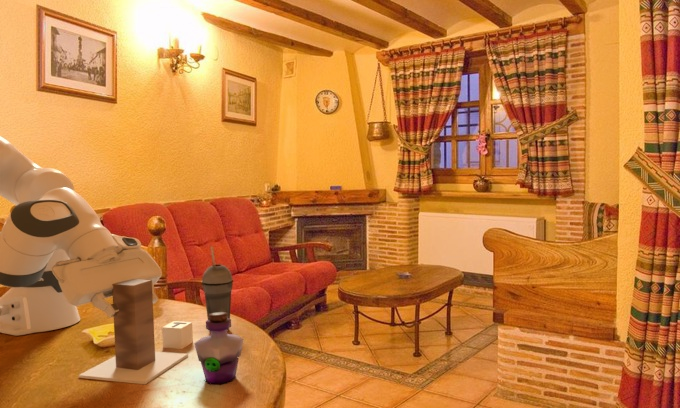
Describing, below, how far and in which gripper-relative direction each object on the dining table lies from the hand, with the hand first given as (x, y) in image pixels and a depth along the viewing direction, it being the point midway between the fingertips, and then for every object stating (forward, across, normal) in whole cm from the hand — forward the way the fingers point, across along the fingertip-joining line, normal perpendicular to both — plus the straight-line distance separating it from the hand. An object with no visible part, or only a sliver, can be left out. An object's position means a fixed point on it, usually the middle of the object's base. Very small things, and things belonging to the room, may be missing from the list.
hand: (135, 308), depth 98 cm
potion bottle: (+21, +2, -5) cm, 22 cm away
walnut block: (+8, 0, +8) cm, 11 cm away
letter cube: (+7, +13, +10) cm, 17 cm away
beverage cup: (+8, +24, +8) cm, 27 cm away
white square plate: (+8, 0, +8) cm, 11 cm away
